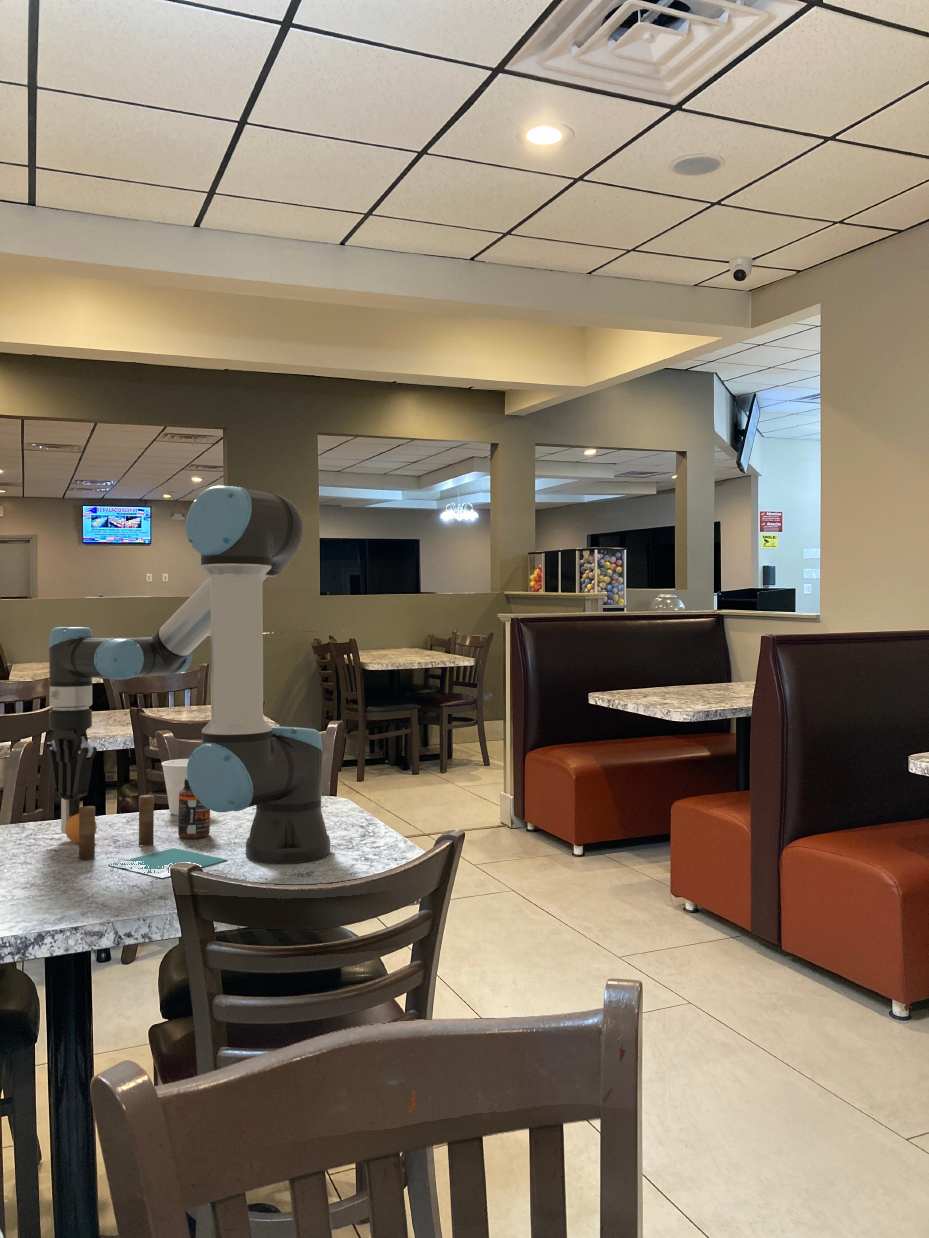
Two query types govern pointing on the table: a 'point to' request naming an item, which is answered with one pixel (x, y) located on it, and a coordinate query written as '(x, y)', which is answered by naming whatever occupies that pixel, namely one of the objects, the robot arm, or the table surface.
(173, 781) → the cup
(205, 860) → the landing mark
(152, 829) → the post right
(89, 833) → the post left
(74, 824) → the ball
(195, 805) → the supplement bottle
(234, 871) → the table surface
